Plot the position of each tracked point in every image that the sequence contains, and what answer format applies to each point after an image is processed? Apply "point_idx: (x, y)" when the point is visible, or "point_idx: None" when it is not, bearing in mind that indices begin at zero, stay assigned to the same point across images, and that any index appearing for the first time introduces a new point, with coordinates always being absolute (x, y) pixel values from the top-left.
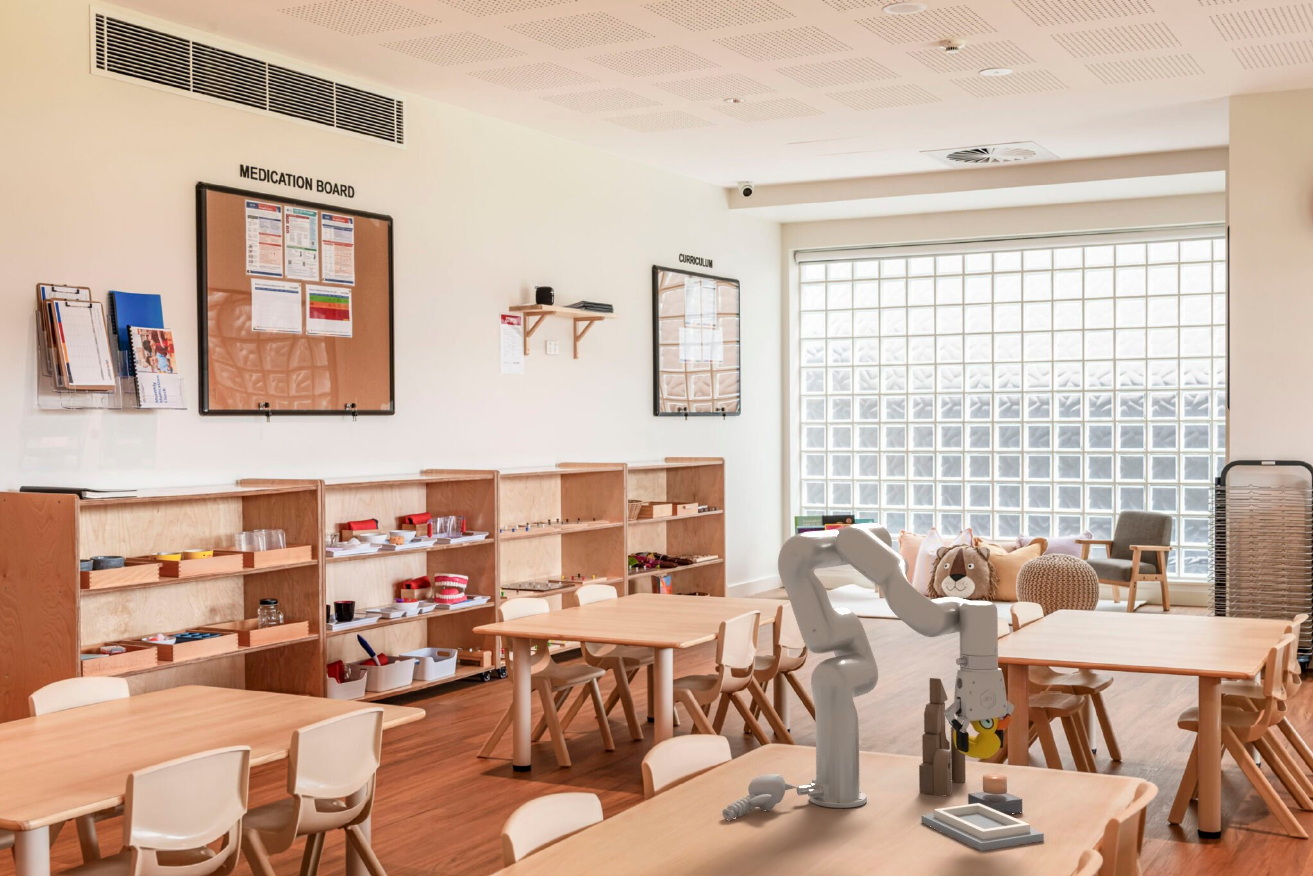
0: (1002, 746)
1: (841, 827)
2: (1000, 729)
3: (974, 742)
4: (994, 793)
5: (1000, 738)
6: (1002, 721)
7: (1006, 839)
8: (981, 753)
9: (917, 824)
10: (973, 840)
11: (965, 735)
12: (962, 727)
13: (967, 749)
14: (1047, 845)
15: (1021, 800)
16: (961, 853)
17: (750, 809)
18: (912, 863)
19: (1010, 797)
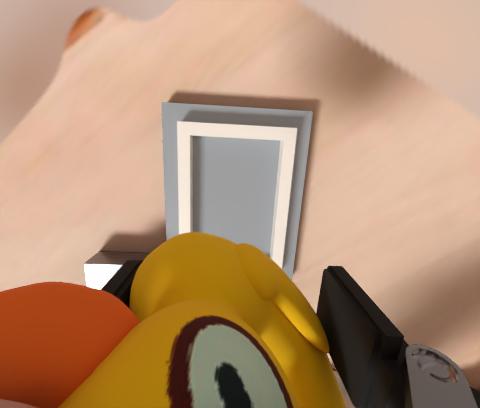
0: (131, 260)
1: (406, 308)
2: (116, 298)
3: (276, 310)
4: None
5: (122, 287)
6: (49, 346)
7: (253, 108)
8: (260, 250)
9: (299, 274)
10: (309, 136)
11: (388, 327)
12: (463, 384)
13: (338, 271)
14: (175, 80)
15: (87, 262)
16: (346, 120)
17: None
18: (454, 116)
19: (100, 279)
